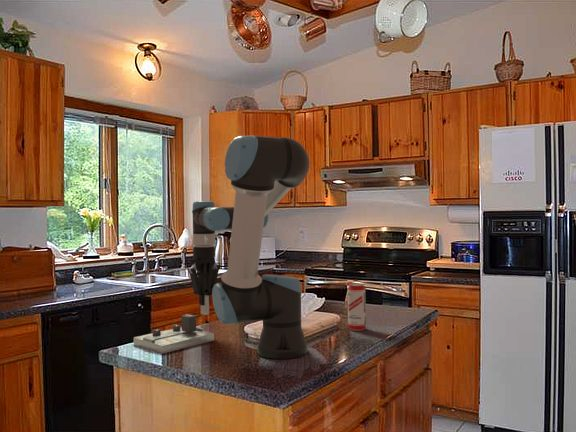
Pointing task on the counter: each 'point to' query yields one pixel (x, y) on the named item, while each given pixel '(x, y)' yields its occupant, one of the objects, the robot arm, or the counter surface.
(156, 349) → the console
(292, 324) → the robot arm
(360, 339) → the counter surface
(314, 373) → the counter surface
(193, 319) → the fader tab
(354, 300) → the beer can
